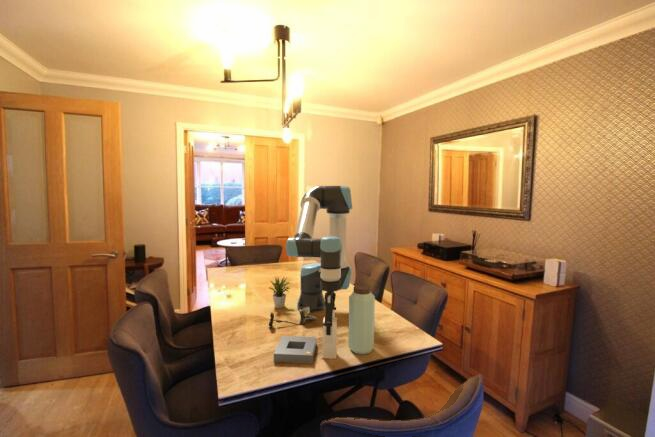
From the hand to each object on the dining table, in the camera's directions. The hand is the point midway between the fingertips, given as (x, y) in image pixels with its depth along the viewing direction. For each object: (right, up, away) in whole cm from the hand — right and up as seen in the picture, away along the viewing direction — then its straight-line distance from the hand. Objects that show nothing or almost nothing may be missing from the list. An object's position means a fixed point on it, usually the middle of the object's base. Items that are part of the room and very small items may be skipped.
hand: (329, 334), depth 117 cm
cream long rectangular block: (0, -8, +1) cm, 8 cm away
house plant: (-26, -4, +50) cm, 57 cm away
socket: (-13, -8, +3) cm, 16 cm away
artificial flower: (-17, -6, +30) cm, 35 cm away
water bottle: (+12, -8, +6) cm, 16 cm away
